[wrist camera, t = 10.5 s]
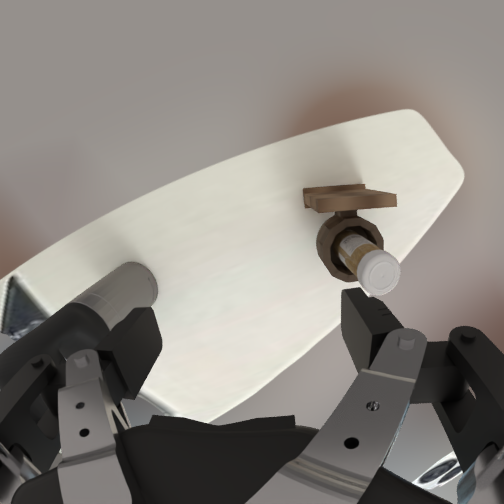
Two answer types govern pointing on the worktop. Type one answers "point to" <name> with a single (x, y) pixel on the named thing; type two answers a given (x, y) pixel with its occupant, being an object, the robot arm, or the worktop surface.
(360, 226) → the bracket
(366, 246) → the sprinkles bottle
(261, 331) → the worktop surface
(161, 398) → the worktop surface
